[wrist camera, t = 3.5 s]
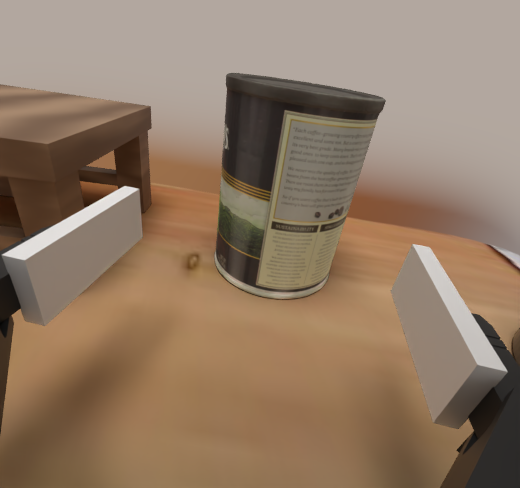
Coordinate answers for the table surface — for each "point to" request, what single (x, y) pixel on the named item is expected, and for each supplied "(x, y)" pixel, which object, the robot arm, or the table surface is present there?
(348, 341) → the table surface
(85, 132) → the stool
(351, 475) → the table surface
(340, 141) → the coffee can
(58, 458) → the table surface
